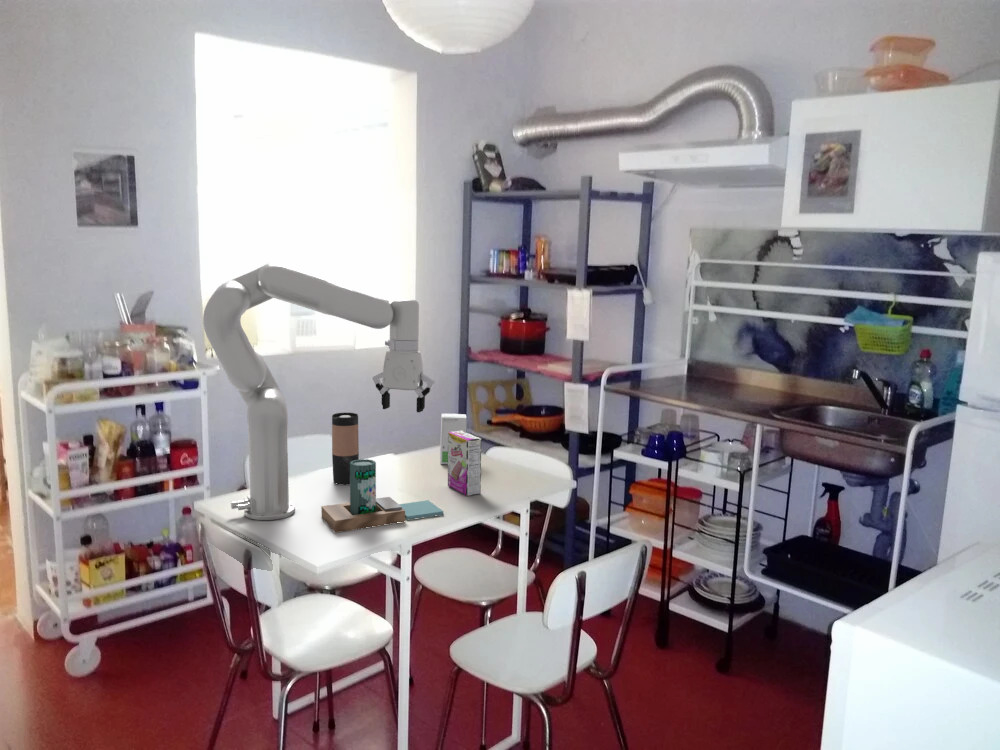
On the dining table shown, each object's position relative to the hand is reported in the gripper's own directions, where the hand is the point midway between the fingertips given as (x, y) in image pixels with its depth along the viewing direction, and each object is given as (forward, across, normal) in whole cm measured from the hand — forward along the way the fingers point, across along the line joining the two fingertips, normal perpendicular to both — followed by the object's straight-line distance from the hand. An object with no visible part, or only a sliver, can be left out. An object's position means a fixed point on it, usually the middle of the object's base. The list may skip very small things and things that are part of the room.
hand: (402, 409), depth 209 cm
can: (+26, -4, -16) cm, 31 cm away
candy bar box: (+26, +12, +17) cm, 33 cm away
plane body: (+26, -4, -16) cm, 30 cm away
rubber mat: (+26, +7, -5) cm, 27 cm away
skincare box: (+26, -1, +44) cm, 51 cm away
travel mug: (+26, -23, +13) cm, 37 cm away
